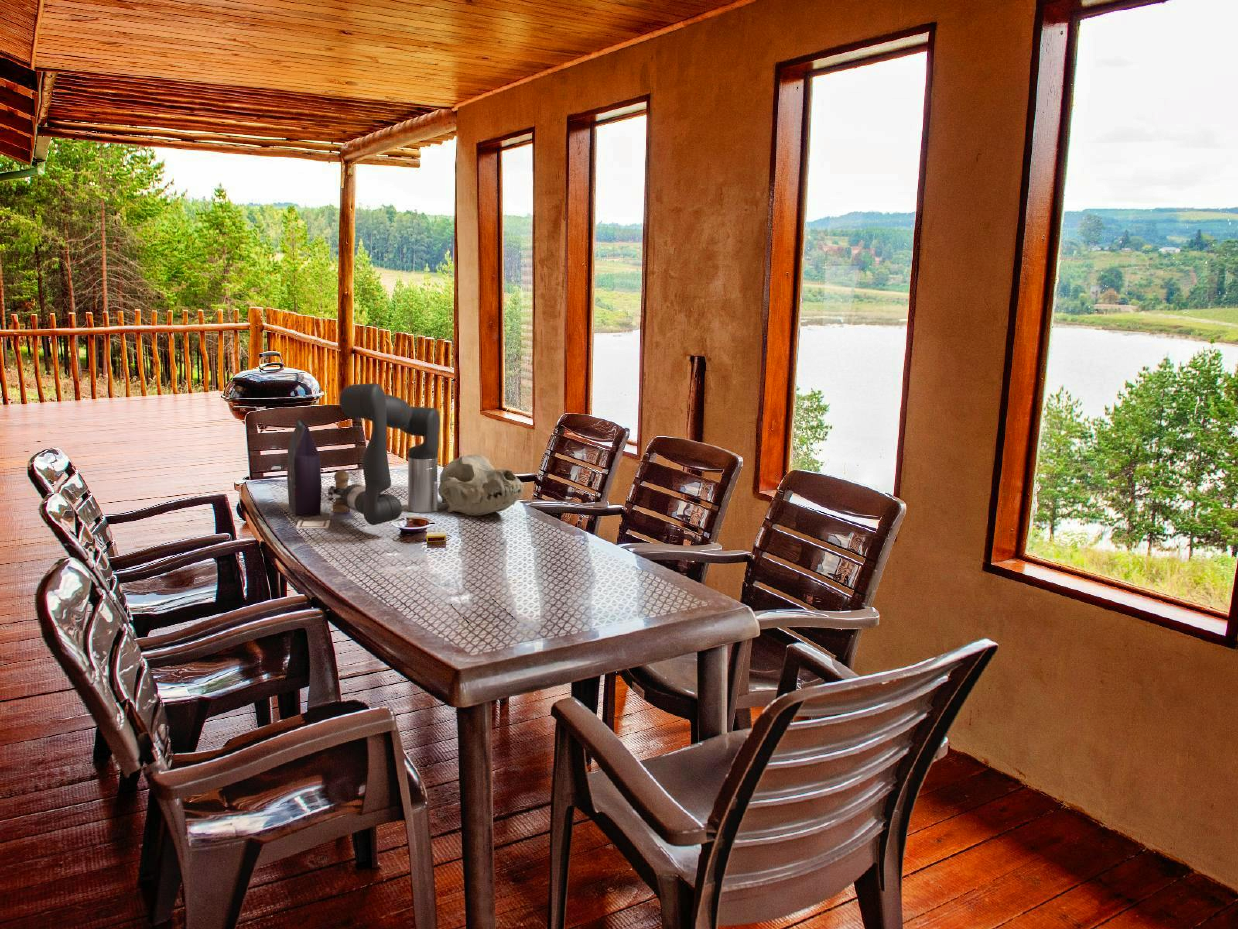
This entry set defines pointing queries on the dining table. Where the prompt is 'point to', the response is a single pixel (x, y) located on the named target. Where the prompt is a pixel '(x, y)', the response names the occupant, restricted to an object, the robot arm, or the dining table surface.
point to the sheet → (313, 524)
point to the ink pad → (342, 515)
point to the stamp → (342, 481)
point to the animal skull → (477, 486)
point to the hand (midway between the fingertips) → (338, 488)
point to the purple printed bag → (303, 473)
